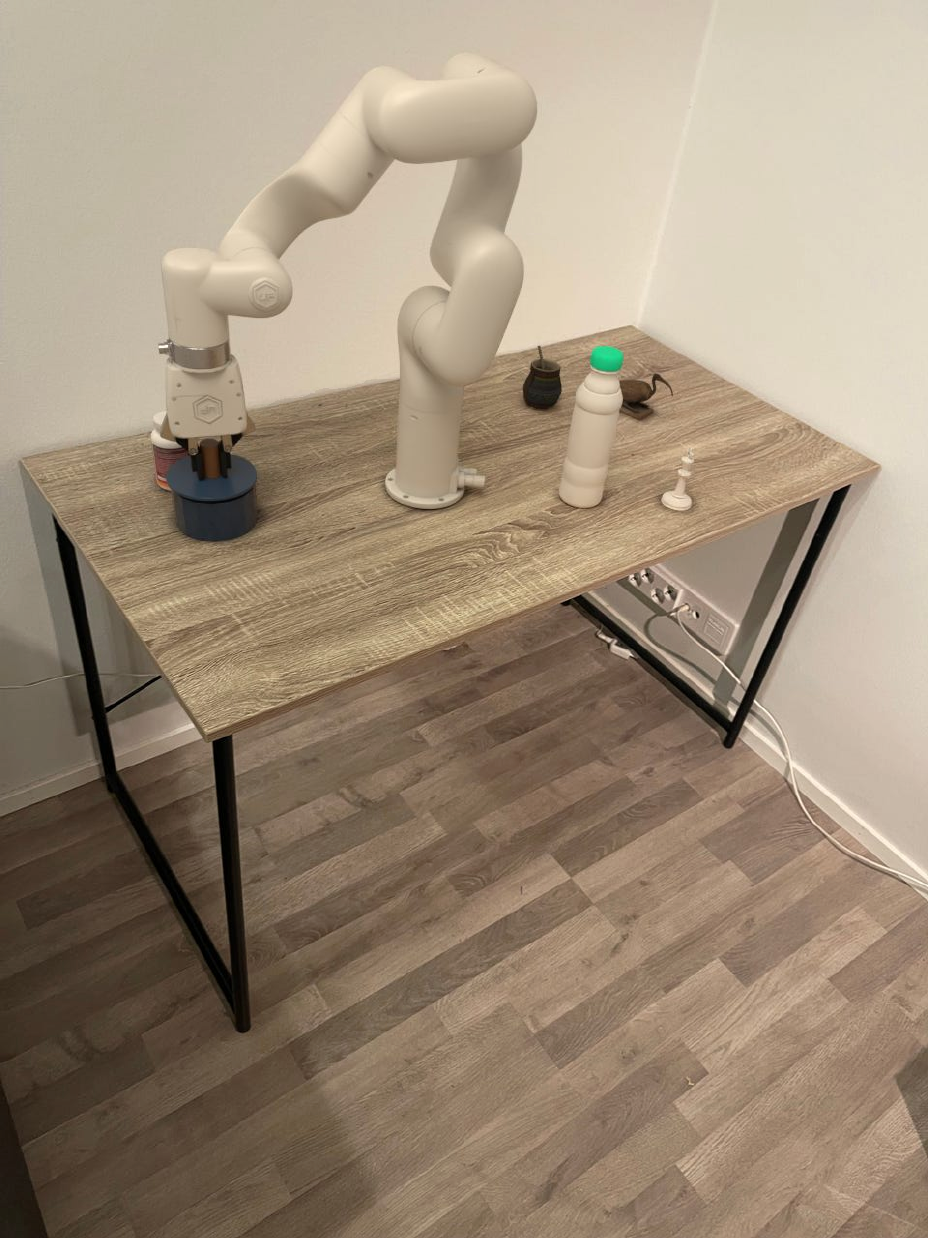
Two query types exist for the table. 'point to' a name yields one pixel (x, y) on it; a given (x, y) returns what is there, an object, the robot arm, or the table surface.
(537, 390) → the mate gourd
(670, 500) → the chess piece
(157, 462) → the pill bottle
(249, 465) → the lid
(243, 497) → the tin
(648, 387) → the figurine
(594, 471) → the water bottle
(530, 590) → the table surface
